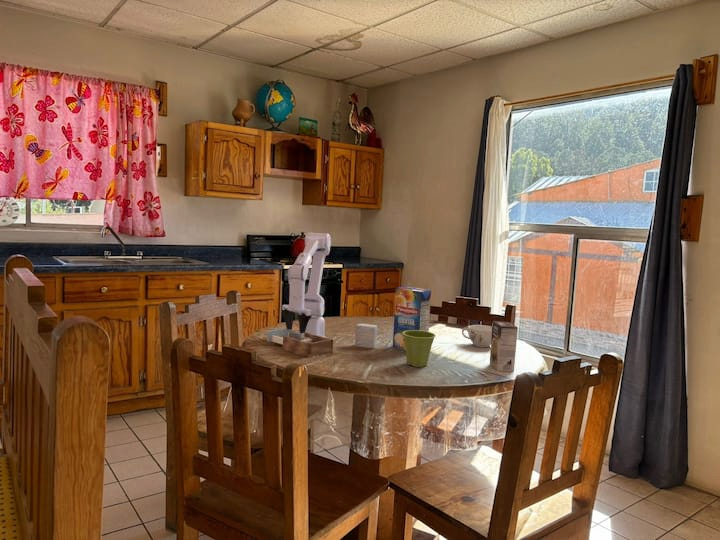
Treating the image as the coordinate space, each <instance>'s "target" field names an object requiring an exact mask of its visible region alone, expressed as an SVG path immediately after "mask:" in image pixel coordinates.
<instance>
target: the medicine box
mask: <svg viewBox="0 0 720 540" xmlns="http://www.w3.org/2000/svg"><path fill="white" fill-rule="evenodd" d="M378 327H379V326H378V325H376V324H370V323H369V324H368V323H367V324H366V323H358V324H357V325H355V339H354V346H355V347H359V348H367V349H375V348H376V347H378Z"/></svg>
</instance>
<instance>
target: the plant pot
mask: <svg viewBox="0 0 720 540" xmlns="http://www.w3.org/2000/svg"><path fill="white" fill-rule="evenodd" d="M403 335H404V340H405V347H406V350H405V355H406V364H407V365H409V366H410V365H411V366H412V367H419V368H422V367H425V366H426V367H427V366H428V361H429V358H430V353H431V350H432V346H433V343H434V339H435V338H436V336H437V335H436V334H435V333H433V332H431V331H429V332H427V331H419V330H408V331H404V332H403Z"/></svg>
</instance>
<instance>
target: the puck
mask: <svg viewBox="0 0 720 540" xmlns="http://www.w3.org/2000/svg"><path fill="white" fill-rule="evenodd" d="M289 337H290V338H294V339H297V340H302V333H300V331H292V332H290V333H289Z"/></svg>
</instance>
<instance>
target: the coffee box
mask: <svg viewBox="0 0 720 540" xmlns="http://www.w3.org/2000/svg"><path fill="white" fill-rule="evenodd" d="M491 326H492V338H491V345H490V351H489V352H490V353H489V355H490V356H489V365H490V366H492V368H493V369H495V370H496V371H497V372H514V371H515V364H516V352H517V342H518V341H517V339H518V326H516V325H514V324H513V323H511V322H509V321H494V320H493V321H492V324H491Z"/></svg>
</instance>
